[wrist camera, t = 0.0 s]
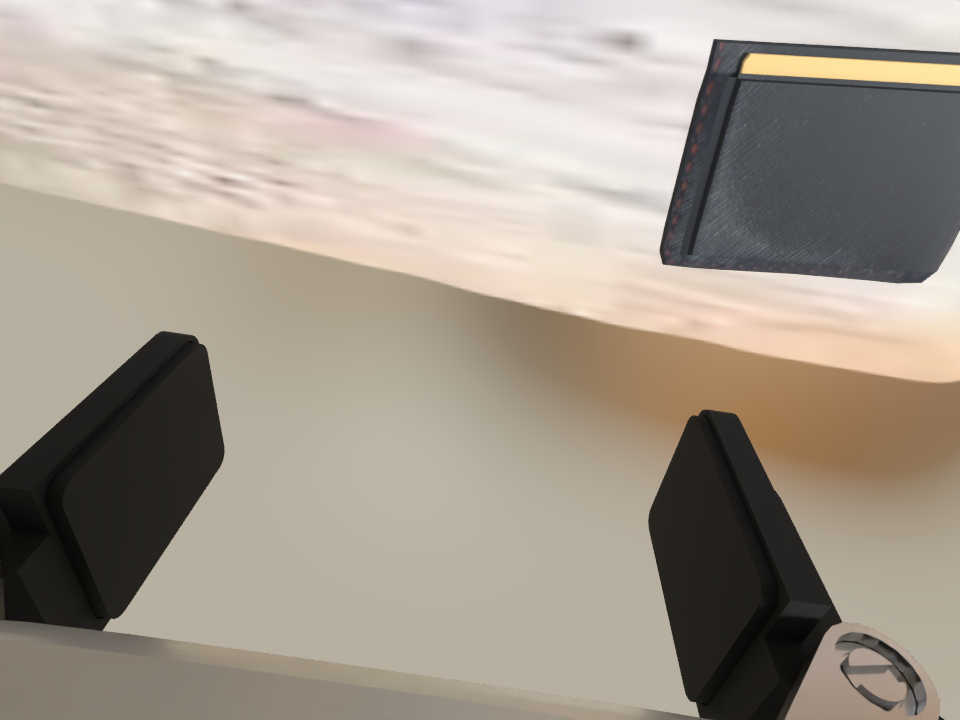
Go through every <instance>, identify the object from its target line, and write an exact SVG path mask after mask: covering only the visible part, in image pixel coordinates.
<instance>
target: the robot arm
mask: <svg viewBox="0 0 960 720" xmlns="http://www.w3.org/2000/svg"><path fill="white" fill-rule="evenodd" d="M223 458H224V443H223V437H222V432H221V427H220V421H219V415H218V409H217V403H216V398H215V393H214V386H213V381H212V375H211V370H210V364H209V358H208V353H207V349H206V347H205V346H204V345H202V344H199V342H198V340H197V338H196V337H195V336H193V335H187V334H180V333H173V332H166V331H163V332H159V333H158V334H156V335H155V336H154V337H153V338H152V339H151V340H150V341H149V342H147V343H146V344H145V345H144V346H143V347H142V348H141V349H140V350H138V351H137V352H136V353H135V354H134V355H133V356H132V357H131V358H130V359H128V360H127V361H126V362H125V363H124V364H123V365H122V366H121V367H120V368H118V369H117V370H116V371H115V372H114V373H113V374H112V375H111V376H110V377H109V378H107V379H106V380H105V381H104V382H103V383H102V384H101V385H100V386H98V387H97V388H96V389H95V390H94V391H93V392H92V393H91V394H90V395H89V396H87V397H86V398H85V399H84V400H83V401H82V402H81V403H80V404H78V405H77V406H76V407H75V408H74V409H73V410H72V411H71V412H70V413H69V414H68V415H66V416H65V417H64V418H63V419H62V420H61V421H60V422H58V423H57V424H56V425H55V426H54V427H53V428H52V429H51V430H50V431H48V432H47V433H46V434H45V435H44V436H43V437H42V438H41V439H40V440H38V441H37V442H36V443H35V444H34V445H33V446H32V447H31V448H30V449H28V450H27V451H26V452H25V453H24V454H23V455H22V456H21V457H20V458H18V459H17V460H16V461H15V462H14V463H13V464H12V465H11V466H10V467H9V468H7V469H6V470H5V471H4V472H3V473H2V474H1V475H0V720H944V719H943V718H941V717H940V716H939V713H940V709H939V707H940V704H939V697H938V694H937V692H936V689H935V686H934V684H933V682H932V680H931V679H930V677H929V676H928V674H927V673H926V671H925V670H924V668H923V667H922V665H920V663H918V661H917V660H916V659H915V658H914V657H913V656H912V655H911V654H910V653H909V652H908V651H907V650H906V649H905V648H903V647H902V646H901V645H899V644H898V643H897V642H896V641H894V640H893V639H892V638H890V637H888V636H886V635H885V634H883V633H881V632H879V631H877V630H876V629H874V628H871V627H868V626H865V625H861V624H858V623H846V622H843V623H842V621H841V619H840V617H839V615H838V613H837V611H836V609H835V607H834V605H833V603H832V601H831V599H830V597H829V595H828V592H827V591H826V589H825V587H824V584H823V583H822V580H821V578H820V576H819V574H818V572H817V570H816V568H815V566H814V564H813V562H812V560H811V558H810V556H809V554H808V552H807V550H806V549H805V546H804V544H803V542H802V540H801V539H800V536H799V534H798V532H797V530H796V528H795V526H794V524H793V522H792V520H791V518H790V516H789V514H788V512H787V510H786V508H785V506H784V504H783V502H782V500H781V498H780V497H779V496H778V494H777V493H776V491H774V489H773V486H772V484H771V482H770V480H769V478H768V477H767V474H766V472H765V470H764V469H763V466H762V464H761V462H760V460H759V459H758V456H757V454H756V452H755V450H754V448H753V446H752V444H751V442H750V440H749V438H748V436H747V434H746V432H745V430H744V428H743V426H742V424H741V422H740V420H739V418H738V416H737V415H736V414H733V413H726V412H720V411H713V410H702V411H701V413H700V414H699V416H695V415H694V416H691V417H690V418H689V420H688V422H687V424H686V427H685V429H684V432H683V434H682V436H681V439H680V441H679V443H678V446H677V448H676V451H675V453H674V455H673V457H672V460H671V462H670V464H669V467H668V469H667V472H666V474H665V476H664V479H663V481H662V483H661V486H660V488H659V491H658V493H657V495H656V497H655V500H654V502H653V504H652V507H651V509H650V513H649V520H648V522H649V531H650V536H651V540H652V544H653V549H654V553H655V558H656V563H657V567H658V572H659V576H660V581H661V585H662V590H663V594H664V599H665V603H666V608H667V612H668V617H669V621H670V626H671V631H672V635H673V640H674V644H675V649H676V653H677V657H678V662H679V667H680V671H681V676H682V680H683V685H684V688H685V693H686V695H687V697H688V699H689V700H690V701H691V702H696V704H697V708H698V712H699V716H700V718H698V717H692V716H686V715H680V714H674V713H668V712H662V711H656V710H650V709H643V708H637V707H632V706H625V705H619V704H613V703H606V702H600V701H593V700H585V699H579V698H573V697H566V696H559V695H552V694H545V693H538V692H532V691H526V690H519V689H512V688H505V687H498V686H492V685H485V684H478V683H472V682H464V681H458V680H451V679H444V678H437V677H430V676H423V675H416V674H409V673H402V672H395V671H388V670H381V669H375V668H367V667H360V666H353V665H346V664H339V663H332V662H325V661H318V660H311V659H304V658H297V657H290V656H283V655H276V654H269V653H262V652H254V651H247V650H240V649H232V648H225V647H218V646H210V645H203V644H196V643H189V642H182V641H174V640H167V639H160V638H153V637H145V636H138V635H131V634H123V633H115V632H106V631H103V629H104V628H105V626H106V625H107V623H108V622H109V620H110V619H111V618H112V619H115V618H118V617H119V616H120V615H121V614H122V613H123V612H124V611H125V610H126V608H127V606H128V605H129V604H130V602H131V601H132V599H133V598H134V596H135V595H136V593H137V591H138V590H139V588H140V587H141V586H142V584H143V583H144V581H145V579H146V578H147V576H148V574H149V573H150V572H151V570H152V569H153V567H154V566H155V564H156V563H157V561H158V560H159V558H160V557H161V555H162V554H163V552H164V551H165V549H166V548H167V546H168V545H169V543H170V542H171V540H172V538H173V537H174V536H175V534H176V533H177V531H178V530H179V528H180V527H181V525H182V524H183V522H184V521H185V519H186V517H187V516H188V515H189V513H190V511H191V510H192V509H193V507H194V505H195V504H196V502H197V501H198V499H199V498H200V496H201V495H202V493H203V492H204V490H205V489H206V487H207V486H208V484H209V483H210V481H211V480H212V478H213V477H214V475H215V473H216V472H217V471H218V469H219V468H220V466H221V464H222V461H223Z"/></svg>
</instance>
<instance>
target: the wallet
mask: <svg viewBox="0 0 960 720" xmlns="http://www.w3.org/2000/svg"><path fill="white" fill-rule="evenodd" d="M959 231H960V53H953V52H935V51H917V50H899V49H880V48H862V47H844V46H826V45H807V44H789V43H771V42H754V41H736V40H718V39H714V43H713V47H712V51H711V55H710V60H709V64H708V68H707V71H706V74H705V77H704V80H703V83H702V86H701V89H700V93H699V96H698V99H697V102H696V106H695V110H694V114H693V118H692V122H691V126H690V130H689V134H688V137H687V141H686V145H685V149H684V153H683V157H682V161H681V165H680V169H679V173H678V177H677V181H676V185H675V189H674V192H673V196H672V200H671V204H670V208H669V212H668V216H667V220H666V224H665V228H664V233H663V238H662V243H661V247H660V253H661V258H662V262H663V264H664V265H673V266H681V267H691V268H705V269H719V270H737V271H754V272H771V273H789V274H802V275H813V276H825V277H836V278H848V279H860V280H870V281H880V282H890V283H922V282H923V281H924V280H926V279H927V278H928V277H930V276H931V275H932V274H934V273H935V272H936V271H937V270H938V269H939V267H940V265H941V263H942V262H943V260H944V258H945V257H946V255H947V253H948V252H949V250H950V248H951V246H952V244H953V243H954V241H955V239H956V237H957V235H958V233H959Z"/></svg>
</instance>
